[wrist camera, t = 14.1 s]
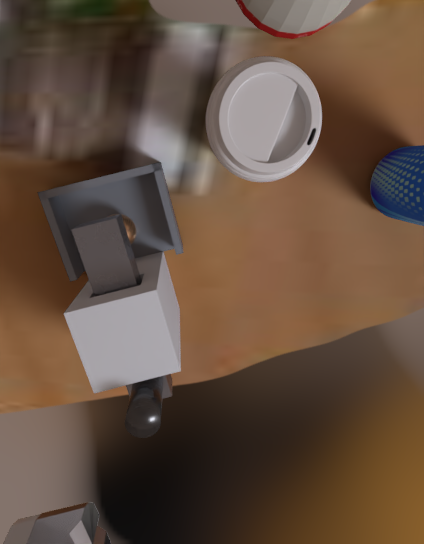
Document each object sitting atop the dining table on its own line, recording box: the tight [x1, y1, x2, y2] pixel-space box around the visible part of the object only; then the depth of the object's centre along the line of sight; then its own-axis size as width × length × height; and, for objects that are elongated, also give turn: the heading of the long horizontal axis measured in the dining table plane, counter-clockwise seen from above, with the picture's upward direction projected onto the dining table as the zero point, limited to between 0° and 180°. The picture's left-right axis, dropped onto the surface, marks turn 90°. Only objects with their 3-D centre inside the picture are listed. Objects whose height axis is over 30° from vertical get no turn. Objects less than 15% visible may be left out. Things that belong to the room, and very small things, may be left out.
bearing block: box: [64, 252, 181, 393], centre depth 40 cm, size 8×8×15 cm
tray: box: [38, 162, 183, 281], centre depth 43 cm, size 10×13×4 cm
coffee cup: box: [206, 56, 322, 182], centre depth 36 cm, size 10×10×15 cm
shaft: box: [71, 214, 172, 438], centre depth 34 cm, size 18×4×8 cm, turn 13°
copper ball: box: [108, 214, 136, 244], centre depth 42 cm, size 4×4×4 cm
